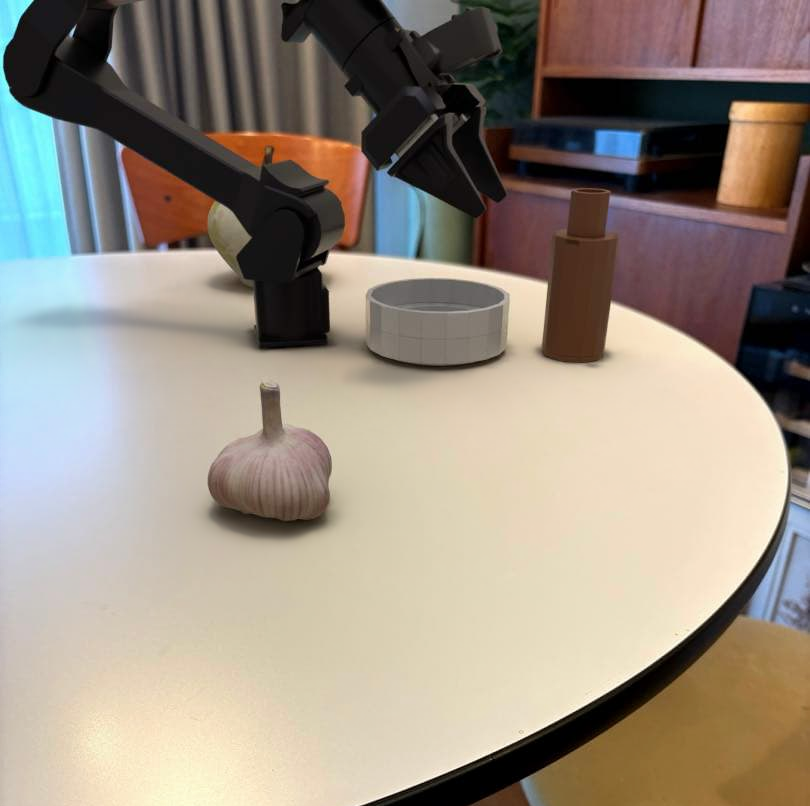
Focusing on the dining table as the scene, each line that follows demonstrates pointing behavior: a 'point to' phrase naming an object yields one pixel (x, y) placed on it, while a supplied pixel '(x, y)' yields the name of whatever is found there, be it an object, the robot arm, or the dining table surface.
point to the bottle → (580, 280)
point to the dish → (437, 321)
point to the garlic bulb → (273, 468)
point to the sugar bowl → (231, 229)
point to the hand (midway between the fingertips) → (493, 206)
